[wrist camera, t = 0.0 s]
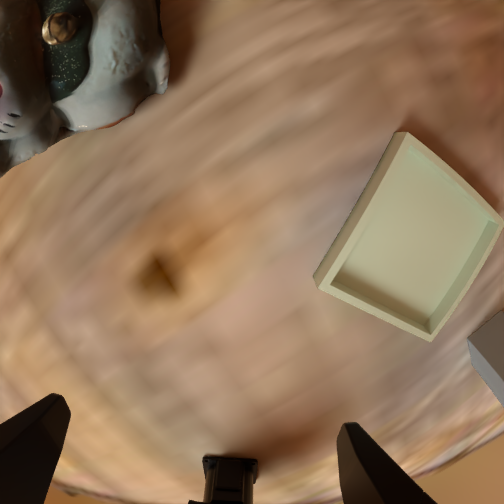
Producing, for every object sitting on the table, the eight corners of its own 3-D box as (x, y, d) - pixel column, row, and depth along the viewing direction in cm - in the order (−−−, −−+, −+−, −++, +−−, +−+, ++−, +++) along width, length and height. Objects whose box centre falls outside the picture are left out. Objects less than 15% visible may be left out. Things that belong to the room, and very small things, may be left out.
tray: (421, 330, 24) (430, 342, 22) (312, 276, 22) (317, 288, 20) (491, 216, 20) (505, 222, 18) (394, 132, 19) (407, 131, 17)
